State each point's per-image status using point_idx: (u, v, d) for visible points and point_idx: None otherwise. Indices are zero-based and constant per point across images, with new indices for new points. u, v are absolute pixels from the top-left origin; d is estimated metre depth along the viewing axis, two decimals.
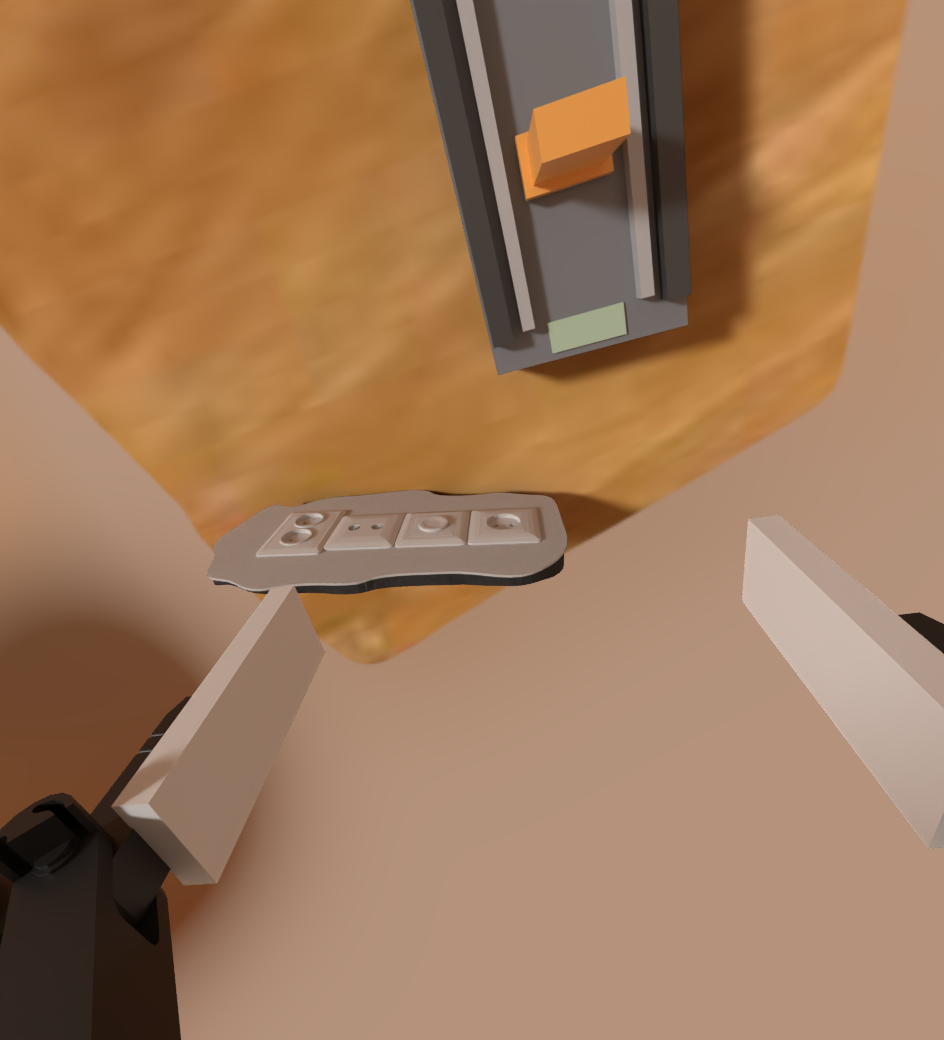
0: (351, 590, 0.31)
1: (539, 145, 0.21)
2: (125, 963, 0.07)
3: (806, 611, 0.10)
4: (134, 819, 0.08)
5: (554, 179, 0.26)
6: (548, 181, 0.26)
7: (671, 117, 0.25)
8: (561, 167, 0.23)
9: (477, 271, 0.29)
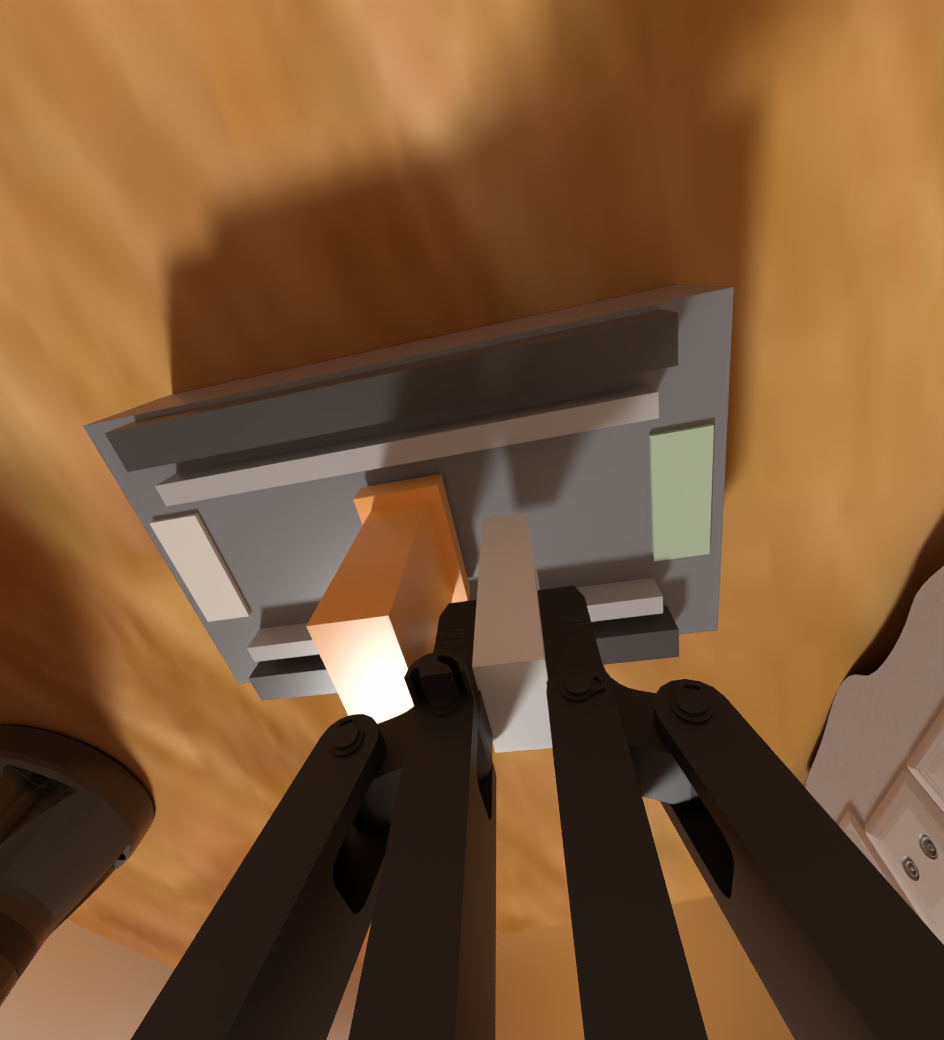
0: None
1: None
2: (478, 834, 0.07)
3: None
4: (486, 680, 0.10)
5: (446, 569, 0.17)
6: (448, 576, 0.17)
7: (370, 398, 0.14)
8: (434, 625, 0.14)
9: None
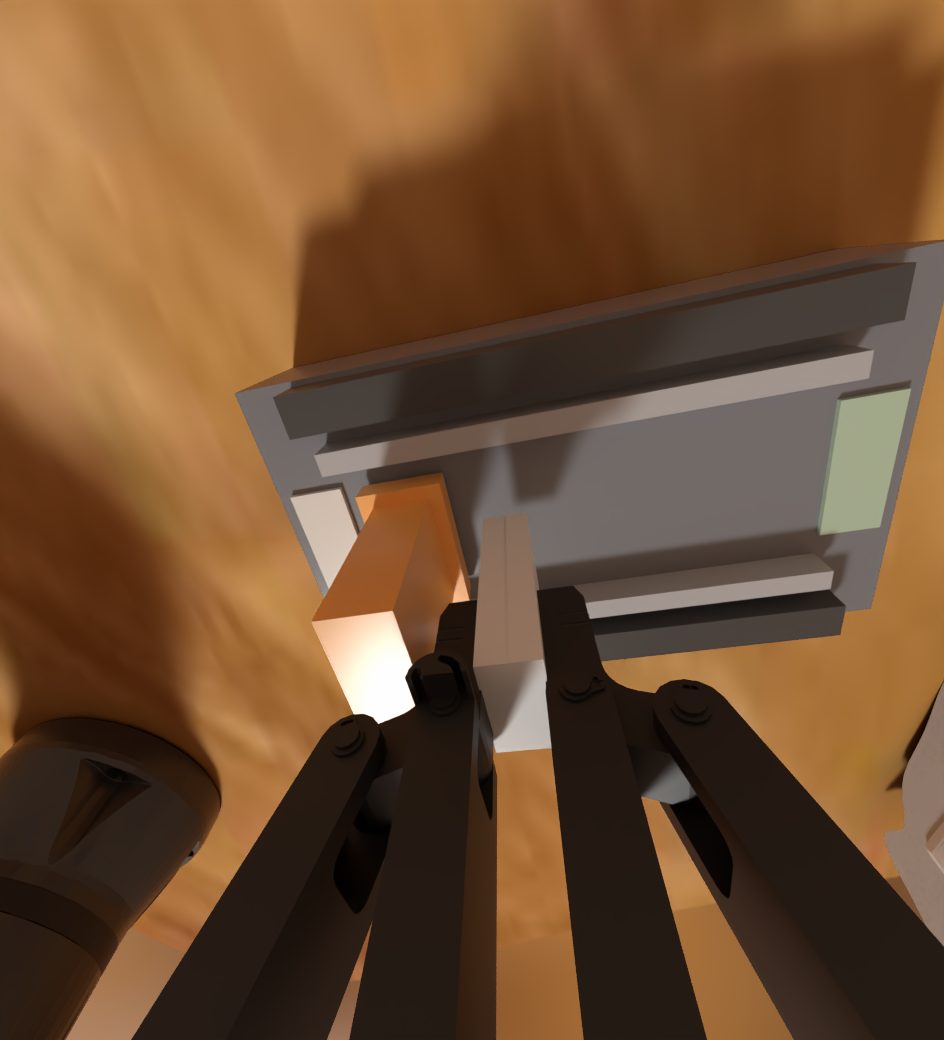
0: None
1: None
2: (478, 834, 0.07)
3: None
4: (487, 680, 0.10)
5: (447, 567, 0.17)
6: (449, 573, 0.17)
7: (566, 357, 0.13)
8: (436, 621, 0.14)
9: (711, 647, 0.18)
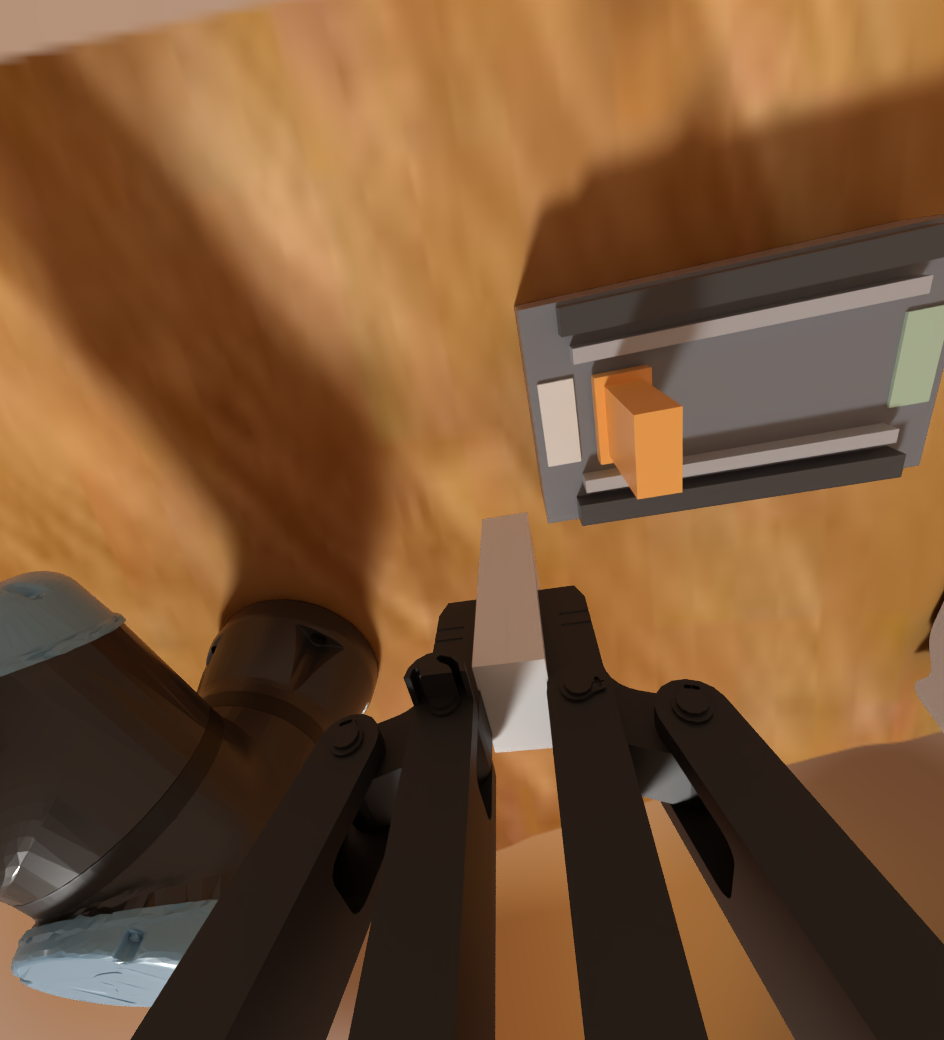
0: None
1: (666, 493, 0.21)
2: (477, 834, 0.07)
3: None
4: (486, 680, 0.10)
5: None
6: None
7: (748, 280, 0.22)
8: None
9: (813, 489, 0.27)
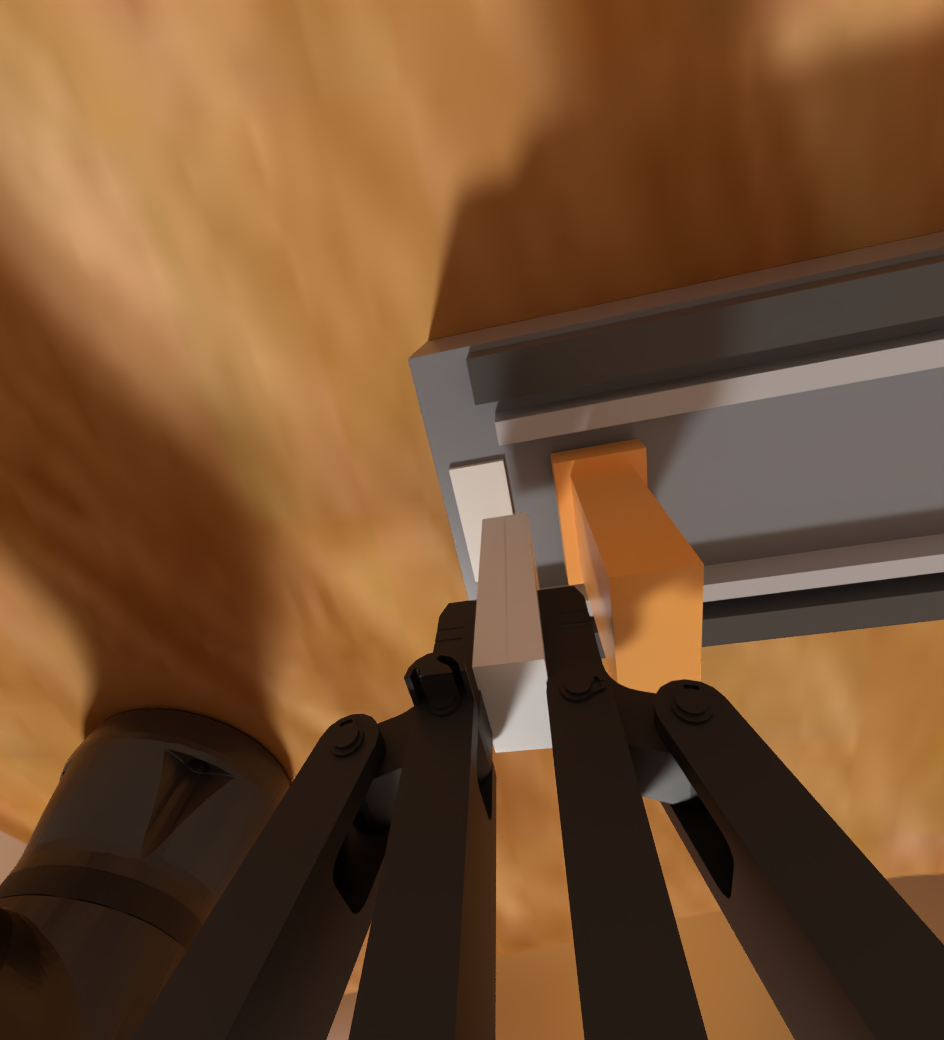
0: None
1: None
2: (478, 834, 0.07)
3: None
4: (487, 680, 0.10)
5: None
6: None
7: (785, 316, 0.13)
8: None
9: (873, 625, 0.18)
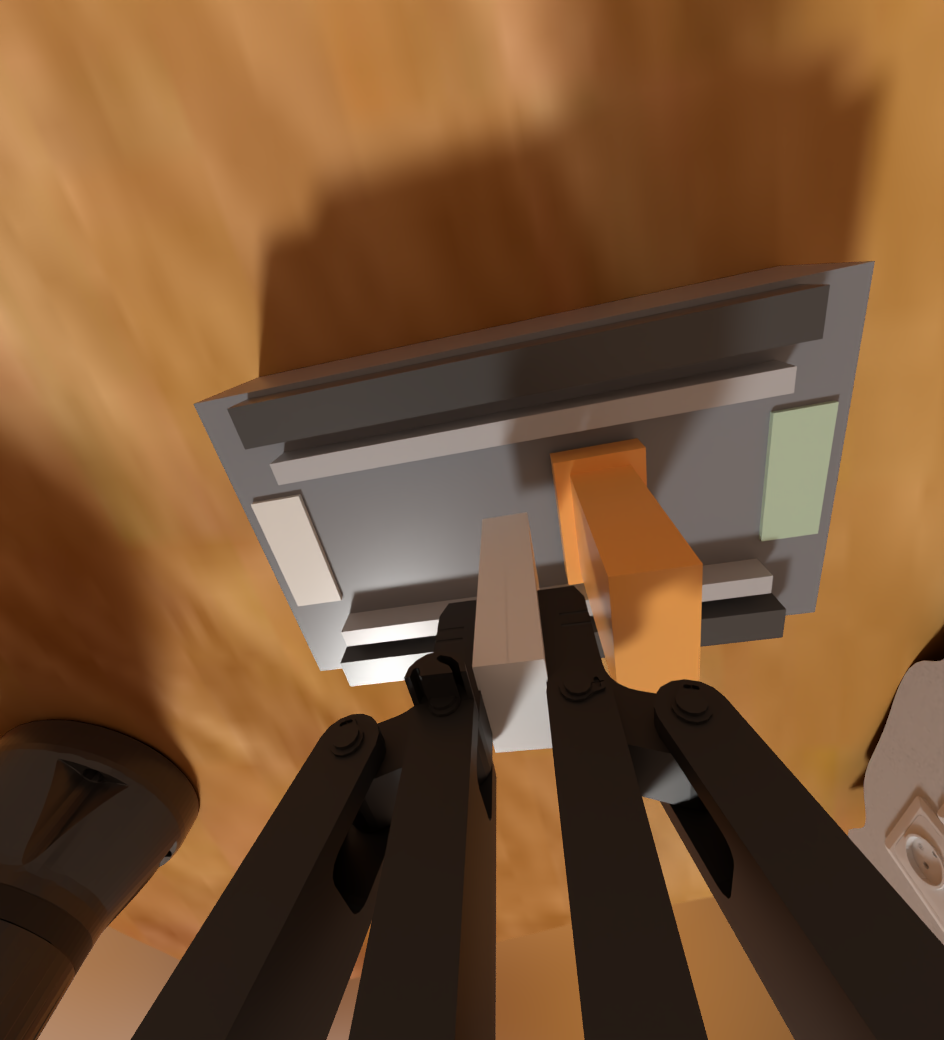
0: None
1: None
2: (478, 834, 0.07)
3: None
4: (487, 680, 0.10)
5: None
6: None
7: (506, 372, 0.14)
8: None
9: None
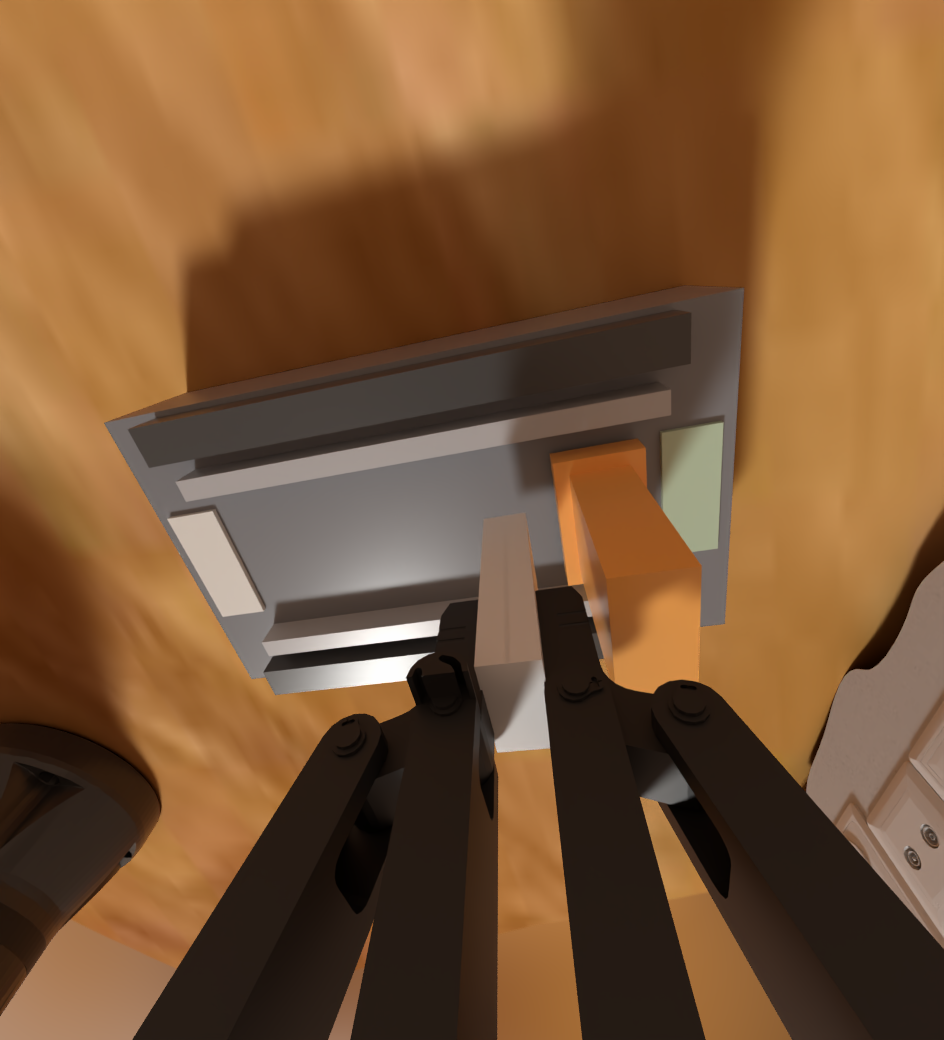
0: None
1: None
2: (480, 834, 0.07)
3: None
4: (489, 680, 0.10)
5: None
6: None
7: (390, 395, 0.14)
8: None
9: None
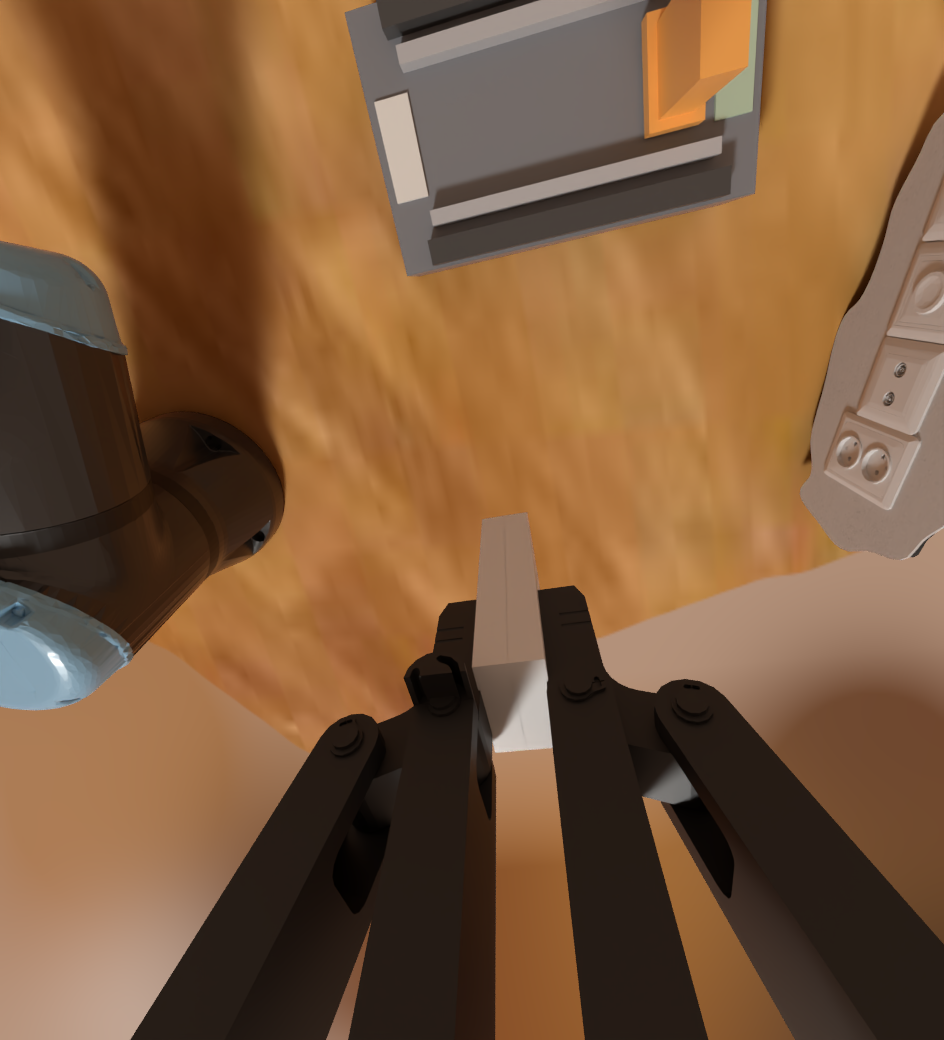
0: None
1: (730, 70, 0.20)
2: (478, 834, 0.07)
3: None
4: (486, 680, 0.10)
5: None
6: None
7: None
8: None
9: (648, 212, 0.27)
